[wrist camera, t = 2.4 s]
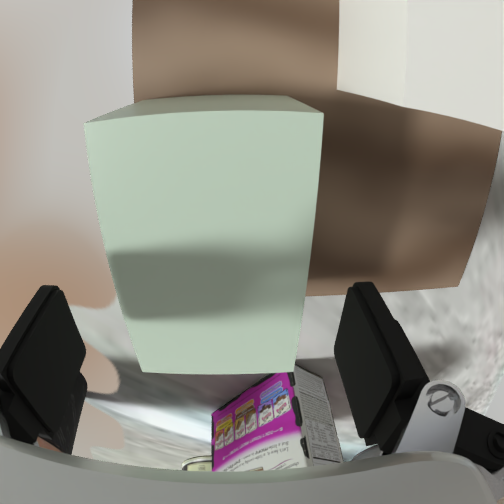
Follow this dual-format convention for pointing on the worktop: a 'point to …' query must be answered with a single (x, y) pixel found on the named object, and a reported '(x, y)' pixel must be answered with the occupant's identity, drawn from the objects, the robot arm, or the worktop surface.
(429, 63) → the white block
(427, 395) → the robot arm
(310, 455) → the candy bar box
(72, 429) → the travel mug
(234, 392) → the worktop surface
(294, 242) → the pale green block
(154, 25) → the walnut board
